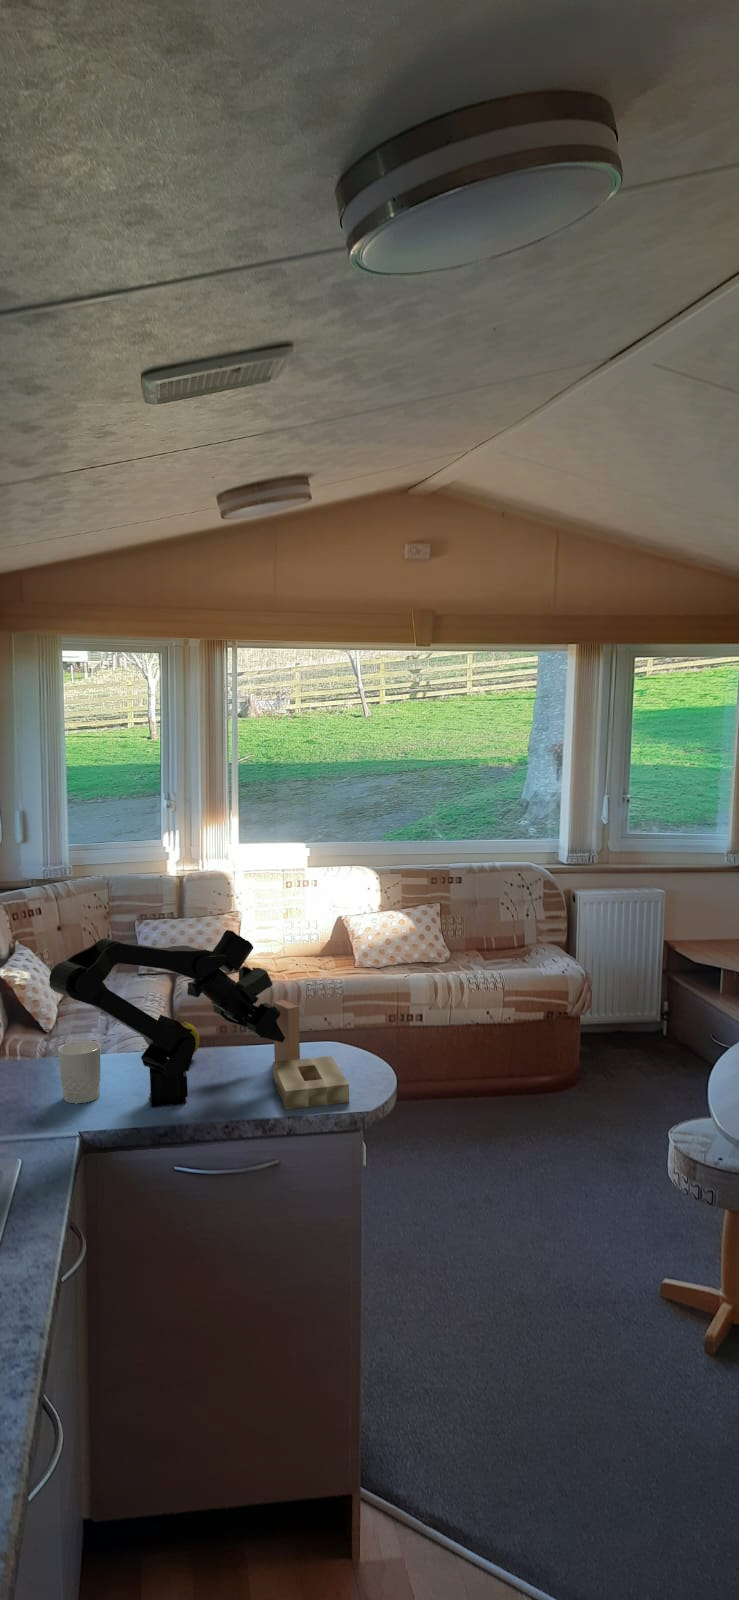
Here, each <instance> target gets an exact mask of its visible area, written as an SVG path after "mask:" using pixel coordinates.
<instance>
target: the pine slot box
mask: <svg viewBox="0 0 739 1600" xmlns="http://www.w3.org/2000/svg"><path fill="white" fill-rule="evenodd" d="M272 1075H273V1076H272V1080H273V1079H274V1080H273V1082H274V1085H275V1086H277V1087H276V1089H277V1092H278V1091H279V1092H278V1094H279V1097H280V1099H281V1102H282V1103H283V1106H284V1109H285V1110H294V1109H302V1108H312V1107H321V1106H328V1105H329V1106H330V1105H337V1104H347V1103H350V1084H349V1082H348V1081H347V1079H346V1078H345V1076H344V1074H343V1072H342V1070H341V1069H340V1068H339V1065H338V1064H337V1063H336V1061H335V1059H334V1058H333V1056H332V1055H331V1056H329V1055H328V1056H319V1057H310V1058H300V1059H298V1060H288V1061H279V1062H275V1061H273V1062H272Z"/></svg>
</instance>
